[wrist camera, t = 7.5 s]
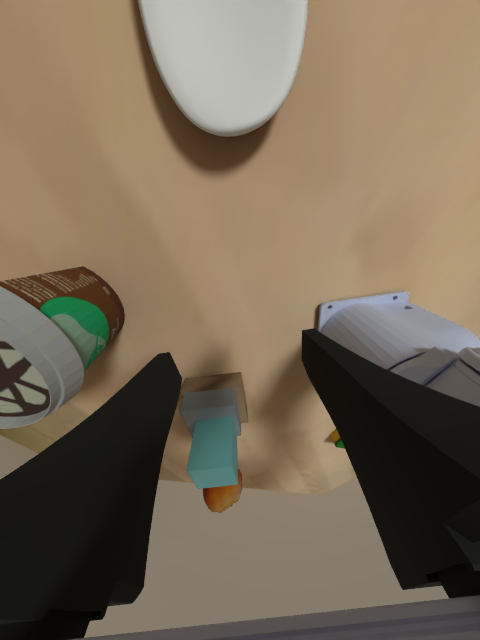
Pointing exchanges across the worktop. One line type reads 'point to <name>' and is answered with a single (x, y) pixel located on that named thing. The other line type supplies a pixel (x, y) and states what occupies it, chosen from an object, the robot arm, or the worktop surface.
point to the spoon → (226, 57)
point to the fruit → (222, 495)
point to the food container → (51, 339)
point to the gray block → (210, 407)
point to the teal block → (214, 453)
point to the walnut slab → (220, 383)
